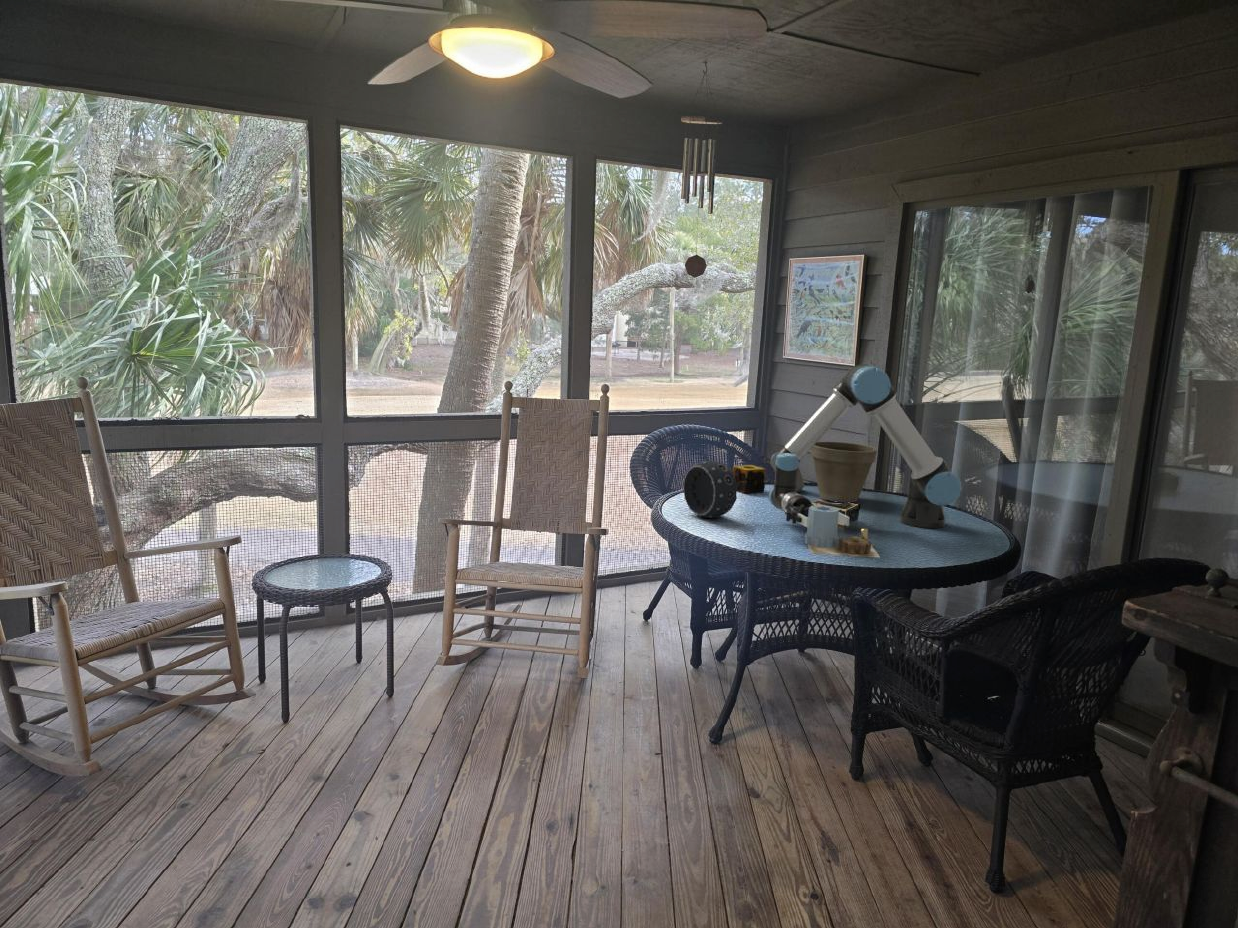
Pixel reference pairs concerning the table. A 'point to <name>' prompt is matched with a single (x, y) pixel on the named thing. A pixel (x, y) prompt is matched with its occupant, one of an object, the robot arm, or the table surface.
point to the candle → (749, 479)
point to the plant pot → (842, 469)
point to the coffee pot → (799, 479)
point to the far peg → (864, 533)
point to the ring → (710, 489)
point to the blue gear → (822, 526)
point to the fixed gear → (854, 545)
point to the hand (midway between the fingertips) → (828, 522)
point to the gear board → (838, 551)
